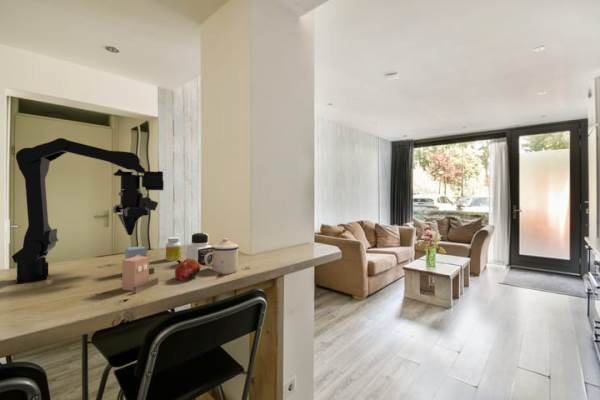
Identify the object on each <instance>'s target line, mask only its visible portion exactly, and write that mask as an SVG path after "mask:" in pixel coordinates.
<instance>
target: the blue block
mask: <svg viewBox="0 0 600 400" xmlns="http://www.w3.org/2000/svg"><path fill="white" fill-rule="evenodd" d="M147 250H148V249H147V247H145V246H143V245H142V246H133V247H125V259H128V258H132V257H135V256H142V257H147Z"/></svg>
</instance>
